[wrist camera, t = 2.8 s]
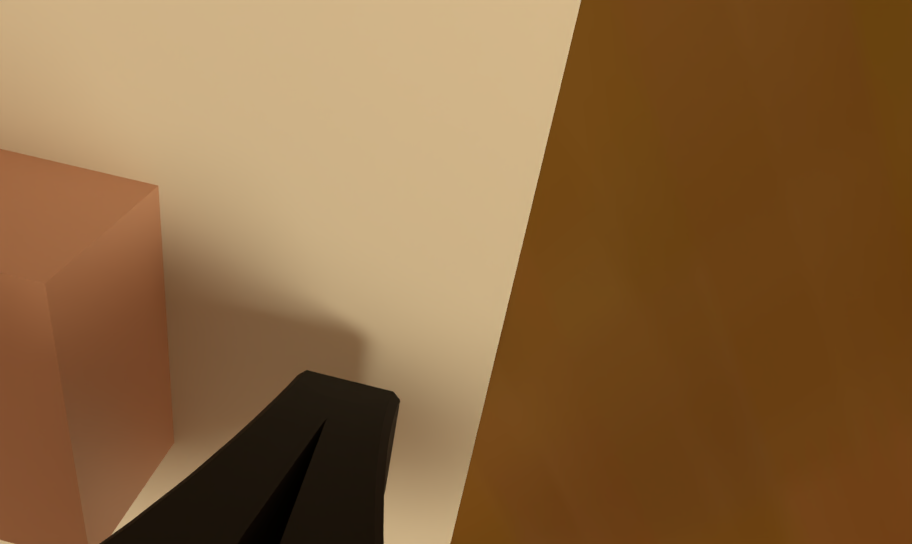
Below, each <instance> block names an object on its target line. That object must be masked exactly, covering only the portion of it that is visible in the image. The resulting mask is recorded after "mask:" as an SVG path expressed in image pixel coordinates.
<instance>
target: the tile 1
mask: <svg viewBox="0 0 912 544" xmlns="http://www.w3.org/2000/svg"><path fill="white" fill-rule="evenodd" d="M173 444H174V430H173V414H172V398H171V382H170V365H169V349H168V333H167V317H166V300H165V284H164V268H163V252H162V235H161V219H160V203H159V187H158V185H154V184H149V183H145V182H141V181H137V180H132V179H128V178H124V177H119V176H115V175H111V174H106V173H102V172H98V171H94V170H89V169H85V168H81V167H76V166H72V165H68V164H64V163H59V162H55V161H51V160H46V159H42V158H38V157H33V156H29V155H25V154H21V153H16V152H12V151H8V150H3V149H0V540H2V541H6V542H10V543H14V544H99V543H101V542H102V541H104V540H105V539H107V538H108V537H109V536H111V535H112V533H113V532H114V530H115V529H116V527H117V526H118V524H119V523H120V521H121V520H122V519H123V517H124V516H125V514H126V513H127V511H128V510H129V508H130V507H131V505H132V504H133V502H134V501H135V499H136V498H137V497H138V495H139V494H140V492H141V491H142V489H143V488H144V486H145V485H146V483H147V482H148V480H149V479H150V477H151V476H152V475H153V473H154V472H155V470H156V469H157V467H158V466H159V464H160V463H161V461H162V460H163V458H164V457H165V455H166V454H167V452H168V451H169V450H170V448H171V447H172V445H173Z"/></svg>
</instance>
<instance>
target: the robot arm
mask: <svg viewBox="0 0 912 544" xmlns="http://www.w3.org/2000/svg"><path fill="white" fill-rule="evenodd" d="M399 404H400V399H399V398H398V397H397V395H396V394H395V393H394V392H393V391H389V390H385V389H381V388H377V387H373V386H369V385H365V384H361V383H357V382H353V381H349V380H345V379H341V378H337V377H333V376H329V375H325V374H321V373H317V372H313V371H309V370H306V371H304V372H302V373H300V374H298V375H297V376H296V377H295V378H294V379H293V380H292V382H291V383H290V384H289V385H288V386H287V387H286V388H285V389H284V390H283V391H282V392H281V393H280V394H279V395H278V396H277V397H276V398H275V399H274V400H273V401H272V402H271V403H270V404H268V405H267V406H266V407H265V408H264V409H263V410H262V411H261V412H260V413H259V414H258V415H257V416H256V417H255V418H254V419H253V420H252V421H250V422H249V423H248V424H247V425H246V426H245V427H244V428H243V429H242V430H241V431H240V432H239V433H237V434H236V435H235V436H234V437H233V438H232V439H231V440H230V441H228V442H227V443H226V444H225V445H224V446H223V447H221V448H220V449H219V450H218V451H217V452H216V453H214V454H213V455H212V456H211V457H210V458H209V459H208V460H206V461H205V462H204V463H203V464H202V465H201V466H199V467H198V468H197V469H196V470H195V471H194V472H192V473H191V474H190V475H189V476H188V477H186V478H185V479H184V480H183V481H181V482H180V483H179V484H178V485H176V486H175V487H174V488H172V489H171V490H170V491H169V492H167V493H166V494H165V495H163V496H162V497H161V498H160V499H158V500H157V501H156V502H154V503H153V504H152V505H151V506H149V507H148V508H147V509H145V510H144V511H143V512H142V513H140V514H139V515H138V516H137V517H135V518H134V519H133V520H131V521H130V522H129V523H127V524H126V525H125V526H123V527H122V528H120V529H119V530H118V531H116V532H115V533H113V534H112V535H111V536H109V537H108V538H107V539H105V540H104V541H102V542H101V543H99V544H384V494H385V490H386V484H387V478H388V471H389V465H390V459H391V453H392V447H393V441H394V435H395V429H396V423H397V417H398V411H399Z"/></svg>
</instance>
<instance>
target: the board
mask: <svg viewBox="0 0 912 544" xmlns="http://www.w3.org/2000/svg"><path fill="white" fill-rule="evenodd" d="M580 2H581V0H0V149H3V150H8V151H12V152H16V153H21V154H25V155H29V156H33V157H38V158H42V159H46V160H51V161H55V162H59V163H64V164H68V165H72V166H76V167H81V168H85V169H89V170H94V171H98V172H102V173H106V174H111V175H115V176H119V177H124V178H128V179H132V180H137V181H141V182H145V183H149V184H154V185H158V187H159V203H160V219H161V235H162V252H163V268H164V284H165V300H166V317H167V333H168V349H169V365H170V382H171V398H172V414H173V430H174V444H173V445H172V447H171V448H170V450H169V451H168V452H167V454H166V455H165V457H164V458H163V460H162V461H161V463H160V464H159V466H158V467H157V469H156V470H155V472H154V473H153V475H152V476H151V477H150V479H149V480H148V482H147V483H146V485H145V486H144V488H143V489H142V491H141V492H140V494H139V495H138V497H137V498H136V499H135V501H134V502H133V504H132V505H131V507H130V508H129V510H128V511H127V513H126V514H125V516H124V517H123V519H122V520H121V521H120V523H119V524H118V526H117V527H116V529H115V530H114V532H113V533H115V532H116V531H118V530H119V529H120V528H122V527H123V526H125V525H126V524H127V523H129V522H130V521H131V520H133V519H134V518H135V517H137V516H138V515H139V514H140V513H142V512H143V511H144V510H145V509H147V508H148V507H149V506H151V505H152V504H153V503H154V502H156V501H157V500H158V499H160V498H161V497H162V496H163V495H165V494H166V493H167V492H169V491H170V490H171V489H172V488H174V487H175V486H176V485H178V484H179V483H180V482H181V481H183V480H184V479H185V478H186V477H188V476H189V475H190V474H191V473H192V472H194V471H195V470H196V469H197V468H198V467H199V466H201V465H202V464H203V463H204V462H205V461H206V460H208V459H209V458H210V457H211V456H212V455H213V454H214V453H216V452H217V451H218V450H219V449H220V448H221V447H223V446H224V445H225V444H226V443H227V442H228V441H230V440H231V439H232V438H233V437H234V436H235V435H236V434H237V433H239V432H240V431H241V430H242V429H243V428H244V427H245V426H246V425H247V424H248V423H249V422H250V421H252V420H253V419H254V418H255V417H256V416H257V415H258V414H259V413H260V412H261V411H262V410H263V409H264V408H265V407H266V406H267V405H268V404H270V403H271V402H272V401H273V400H274V399H275V398H276V397H277V396H278V395H279V394H280V393H281V392H282V391H283V390H284V389H285V388H286V387H287V386H288V385H289V384H290V383H291V382H292V380H293V379H294V378H295V377H296V376H297V375H298V374H300V373H302V372H304V371H306V370H309V371H313V372H317V373H321V374H325V375H329V376H333V377H337V378H341V379H345V380H349V381H353V382H357V383H361V384H365V385H369V386H373V387H377V388H381V389H385V390H389V391H393V392H394V393H395V394H396V395H397V397H398V398H399V399H400V404H399V411H398V417H397V423H396V429H395V435H394V441H393V447H392V453H391V459H390V465H389V471H388V478H387V484H386V490H385V494H384V544H450V542H451V538H452V534H453V530H454V526H455V522H456V517H457V513H458V509H459V505H460V501H461V497H462V492H463V488H464V484H465V480H466V476H467V472H468V468H469V463H470V459H471V455H472V451H473V447H474V443H475V438H476V434H477V430H478V426H479V422H480V418H481V414H482V409H483V405H484V401H485V397H486V393H487V389H488V384H489V380H490V376H491V372H492V368H493V364H494V360H495V355H496V351H497V347H498V343H499V339H500V335H501V330H502V326H503V322H504V318H505V314H506V310H507V306H508V301H509V297H510V293H511V289H512V285H513V281H514V276H515V272H516V268H517V264H518V260H519V256H520V251H521V247H522V243H523V239H524V235H525V231H526V227H527V222H528V218H529V214H530V210H531V206H532V202H533V197H534V193H535V189H536V185H537V181H538V177H539V173H540V168H541V164H542V160H543V156H544V152H545V148H546V143H547V139H548V135H549V131H550V127H551V123H552V119H553V114H554V110H555V106H556V102H557V98H558V94H559V89H560V85H561V81H562V77H563V73H564V69H565V65H566V60H567V56H568V52H569V48H570V44H571V40H572V35H573V31H574V27H575V23H576V19H577V15H578V10H579V6H580ZM113 533H112V534H113ZM0 544H14V543H10V542H6V541H2V540H0Z"/></svg>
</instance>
